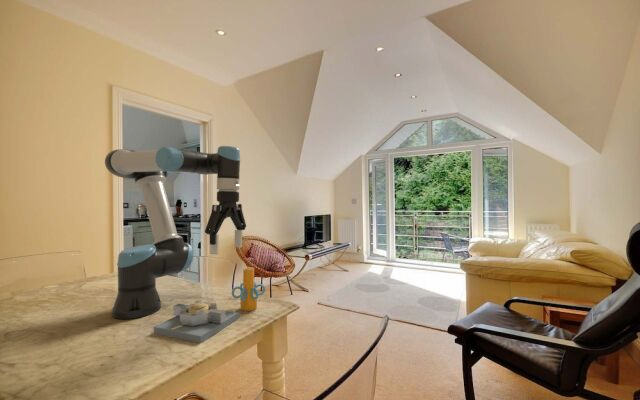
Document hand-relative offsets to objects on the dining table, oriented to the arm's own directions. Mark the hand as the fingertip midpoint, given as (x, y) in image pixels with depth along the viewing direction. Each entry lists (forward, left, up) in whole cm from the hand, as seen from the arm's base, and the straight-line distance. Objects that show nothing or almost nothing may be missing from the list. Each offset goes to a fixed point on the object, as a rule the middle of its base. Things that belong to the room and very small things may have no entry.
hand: (226, 250), depth 102 cm
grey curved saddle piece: (-3, -11, -20) cm, 23 cm away
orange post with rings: (+4, +7, -23) cm, 25 cm away
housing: (-3, -11, -23) cm, 25 cm away
